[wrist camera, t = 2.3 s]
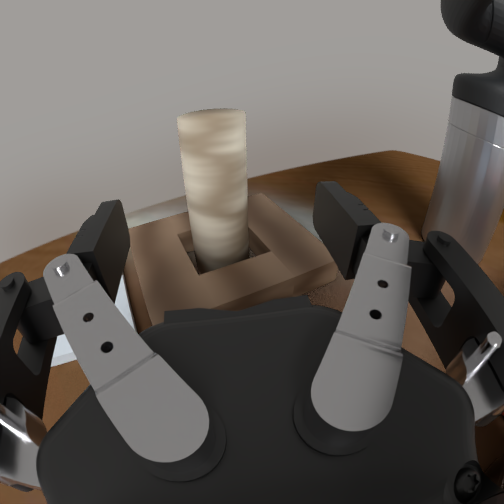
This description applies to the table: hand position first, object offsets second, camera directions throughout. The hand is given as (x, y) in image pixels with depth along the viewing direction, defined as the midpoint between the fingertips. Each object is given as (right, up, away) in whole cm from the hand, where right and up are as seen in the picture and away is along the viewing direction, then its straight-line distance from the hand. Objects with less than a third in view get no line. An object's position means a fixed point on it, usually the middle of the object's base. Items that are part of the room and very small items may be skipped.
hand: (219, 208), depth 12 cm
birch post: (-1, -3, +16) cm, 17 cm away
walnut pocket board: (-1, -3, +16) cm, 17 cm away
